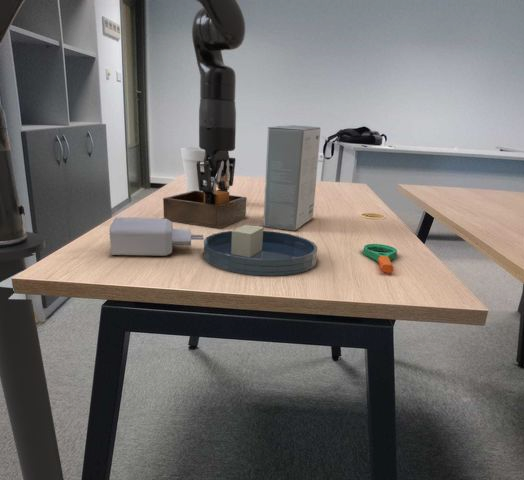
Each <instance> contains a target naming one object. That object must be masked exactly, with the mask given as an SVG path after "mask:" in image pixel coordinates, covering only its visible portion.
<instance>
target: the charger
mask: <svg viewBox="0 0 524 480" xmlns="http://www.w3.org/2000/svg"><path fill="white" fill-rule="evenodd" d="M173 225H174V224H173V221H170V220H168V219H164V218H159V217H158V218H157V217H155V218H154V217H153V218H152V217H123V216H121V217H120V216H119V217H118V216H115V218H113V221H112V222H111V224H110V226H109V243H110V254H111V255H112V256H155V257H157V256H159V257H167V256H169V255H170V254H172V253H173V249H174V247H173V246H184V247H185V246H187V247H191V246H192V240H200V241H204V235H203V234H196V233H195V234H192V230H191V228H190V229H189V228H186V229H185V228H173Z"/></svg>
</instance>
